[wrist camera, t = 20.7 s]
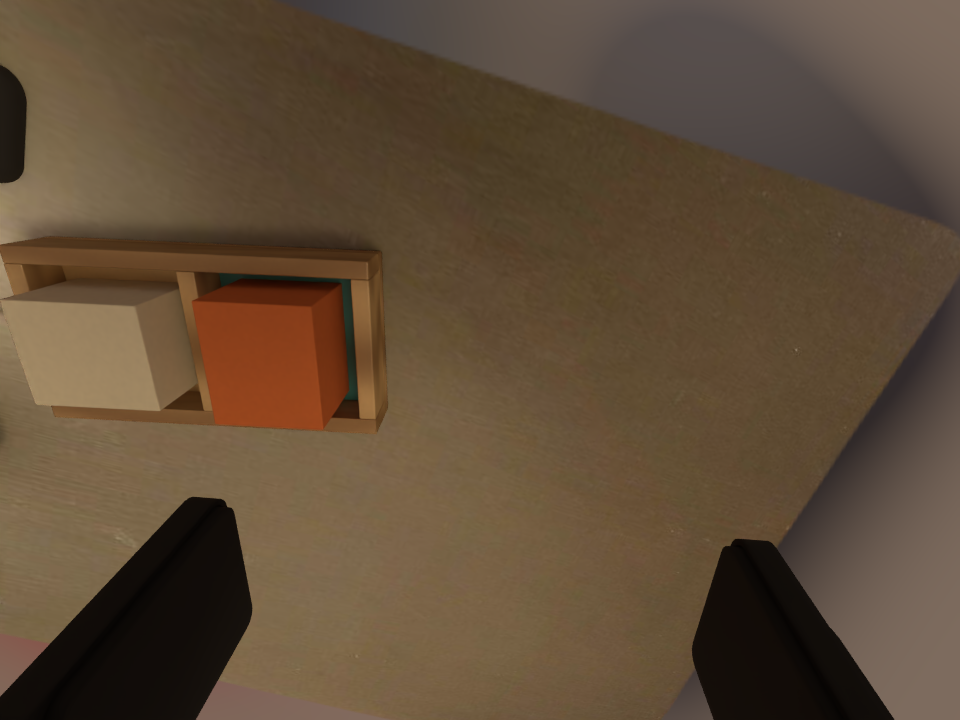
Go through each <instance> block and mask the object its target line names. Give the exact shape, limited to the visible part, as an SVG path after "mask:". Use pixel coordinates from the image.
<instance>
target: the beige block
mask: <svg viewBox="0 0 960 720" xmlns="http://www.w3.org/2000/svg"><path fill="white" fill-rule="evenodd" d="M0 304H1V306H2V309H3V312H4V315H5V318H6V321H7V324H8V327H9V329H10V332H11V335H12V338H13V341H14V344H15V347H16V349H17V352H18V355H19V358H20V361H21V364H22V367H23V370H24V372H25V375H26V378H27V381H28V384H29V387H30V390H31V392H32V395H33V398H34V401H35V404H36V405H52V406H71V407H90V408H109V409H128V410H147V411H161V410H162V409H163V408H165V407H166V406H167V405H169V404H170V403H172V402H173V401H174V400H176V399H177V398H178V397H180V396H181V395H182V394H184V393H185V392H187V391H188V390H189V389H191V388H192V387H193V386H195V385H196V384H197V383H198V379H197V374H196V369H195V364H194V359H193V355H192V350H191V345H190V340H189V335H188V330H187V325H186V320H185V315H184V310H183V305H182V300H181V295H180V290H179V285H178V283H177V282H156V281H134V280H113V279H91V278H76V279H72V280H69V281H65V282H61V283H58V284H54V285H51V286H47V287H43V288H40V289H36V290H32V291H29V292H25V293H22V294H18V295H14V296H11V297H7V298H3V299H0Z"/></svg>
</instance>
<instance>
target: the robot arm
mask: <svg viewBox="0 0 960 720" xmlns="http://www.w3.org/2000/svg"><path fill="white" fill-rule="evenodd" d="M251 615H252V602H251V597H250V592H249V587H248V581H247V576H246V571H245V566H244V561H243V555H242V550H241V545H240V540H239V535H238V530H237V524H236V519H235V514H234V511H233V509H232V508H229V507H227V505H226V502H225V501H224V500H222V499H215V498H202V497H191V498H188V499H187V500H186V501H184V502H183V503H182V505H181V506H180V507H179V508H178V509H177V510H176V511H175V512H174V513H173V514H172V515H171V516H170V517H169V518H168V519H167V520H166V521H165V523H164V524H163V525H162V526H161V527H160V528H159V529H158V530H157V531H156V532H155V533H154V534H153V535H152V536H151V537H150V538H149V540H148V541H147V542H146V543H145V544H144V545H143V546H142V547H141V548H140V549H139V550H138V551H137V552H136V553H135V554H134V555H133V556H132V558H131V559H130V560H129V561H128V562H127V563H126V564H125V565H124V566H123V567H122V568H121V569H120V570H119V571H118V572H117V573H116V575H115V576H114V577H113V578H112V579H111V580H110V581H109V582H108V583H107V584H106V585H105V586H104V587H103V588H102V589H101V590H100V591H99V593H98V594H97V595H96V596H95V597H94V598H93V599H92V600H91V601H90V602H89V603H88V604H87V605H86V606H85V607H84V608H83V609H82V611H81V612H80V613H79V614H78V615H77V616H76V617H75V618H74V619H73V620H72V621H71V622H70V623H69V624H68V625H67V626H66V628H65V629H64V630H63V631H62V632H61V633H60V634H59V635H58V636H57V637H56V638H55V639H54V640H53V641H52V642H51V643H50V644H49V646H48V647H47V648H46V649H45V650H44V651H43V652H42V653H41V654H40V655H39V656H38V657H37V658H36V659H35V660H34V661H33V663H32V664H31V665H30V666H29V667H28V668H27V669H26V670H25V671H24V672H23V673H22V674H21V675H20V676H19V677H18V679H16V681H15V682H14V683H13V684H12V685H11V686H10V687H9V688H8V689H7V690H6V691H5V692H4V693H3V694H2V695H1V696H0V720H196V718H197V716H198V715H199V713H200V711H201V709H202V708H203V706H204V704H205V702H206V700H207V699H208V697H209V695H210V693H211V691H212V689H213V688H214V686H215V684H216V683H217V681H218V679H219V677H220V675H221V674H222V672H223V670H224V668H225V666H226V665H227V663H228V661H229V659H230V658H231V656H232V654H233V652H234V650H235V649H236V647H237V645H238V643H239V641H240V640H241V638H242V636H243V634H244V632H245V631H246V629H247V627H248V625H249V622H250V619H251ZM692 656H693V662H694V666H695V669H696V671H697V674H698V677H699V680H700V683H701V685H702V688H703V691H704V694H705V696H706V699H707V702H708V705H709V708H710V711H711V713H712V716H713V719H714V720H894V718H893V717H892V715H891V714H890V713H889V711H888V710H887V708H886V706H885V705H884V704H883V702H882V701H881V699H880V698H879V696H878V695H877V693H876V692H875V691H874V689H873V687H872V686H871V684H870V683H869V681H868V680H867V678H866V677H865V676H864V674H863V673H862V671H861V670H860V668H859V667H858V665H857V664H856V662H855V661H854V659H853V658H852V657H851V655H850V653H849V652H848V651H847V649H846V648H845V646H844V645H843V643H842V642H841V640H840V639H839V637H838V636H837V635H836V634H835V633H834V631H833V630H832V629H831V628H830V627H829V626H828V624H827V623H826V621H825V620H824V618H823V617H822V615H821V614H820V613H819V611H818V610H817V608H816V606H815V605H814V603H813V602H812V600H811V599H810V598H809V596H808V595H807V593H806V592H805V590H804V589H803V587H802V586H801V584H800V583H799V581H798V580H797V579H796V577H795V575H794V574H793V572H792V571H791V569H790V568H789V566H788V565H787V563H786V562H785V561H784V559H783V557H782V556H781V554H780V553H779V552H778V550H777V548H776V547H775V546H774V545H773V544H772V543H771V542H769V541H761V540H748V539H735V540H734V541H733V542H732V544H731V546H725V547H724V548H723V549H722V552H721V555H720V558H719V561H718V564H717V568H716V571H715V574H714V577H713V580H712V583H711V587H710V590H709V593H708V596H707V599H706V603H705V606H704V609H703V612H702V615H701V619H700V622H699V625H698V628H697V631H696V635H695V638H694V641H693V645H692Z"/></svg>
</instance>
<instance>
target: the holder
mask: <svg viewBox="0 0 960 720" xmlns="http://www.w3.org/2000/svg"><path fill="white" fill-rule="evenodd" d="M0 253H1V256H2V259H3V262H4V263H5V264H4V266H5V269H6V272H7V275H8V278H9V281H10V284H11V287H12V290H13V293H14V295H18V294H22V293H25V292H29V291H32V290H36V289H40V288H43V287H47V286H51V285H54V284H58V283H61V282H65V281H69V280H72V279H76V278H91V279H113V280H134V281H156V282H177V283H178V285H179V290H180V295H181V300H182V305H183V310H184V315H185V320H186V325H187V330H188V335H189V340H190V345H191V350H192V355H193V359H194V364H195V369H196V374H197V379H198V383H197V384H196V385H195V386H193V387H192V388H191V389H189V390H188V391H187V392H185V393H184V394H182V395H181V396H180V397H178V398H177V399H176V400H174V401H173V402H172V403H170V404H169V405H167V406H166V407H165V408H163V409H162V410H161V411H147V410H128V409H109V408H90V407H71V406H52V405H51V407H52V410H53V413H54V415H55V417H65V418H84V419H103V420H121V421H140V422H159V423H178V424H197V425H216V426H234V427H253V428H272V429H291V430H310V431H328V432H347V433H366V434H377V431H378V429H379V427H380V425H381V423H382V420H383V418H384V416H385V413H386V411H387V409H388V401H387V375H386V350H385V325H384V299H383V274H382V252H381V251H367V250H345V249H323V248H300V247H278V246H256V245H233V244H211V243H189V242H166V241H144V240H121V239H99V238H77V237H54V236H49V237H43V238H37V239H31V240H25V241H19V242H13V243H7V244H1V245H0ZM241 278H244V279H265V280H286V281H308V282H329V283H341V284H342V295H343V309H344V323H345V337H346V350H347V364H348V378H349V391H348V393H347V394H346V396H345V398H344V399H343V401H342V402H341V404H340V405H339V407H338V408H337V410H336V411H335V413H334V414H333V416H332V417H331V419H330V420H329V422H328V423H327V425H326V426H325V428H324V429H323V430H314V429H296V428H277V427H258V426H240V425H221V424H215V420H214V415H213V410H212V405H211V399H210V394H209V389H208V384H207V379H206V374H205V369H204V363H203V358H202V353H201V348H200V343H199V338H198V332H197V327H196V322H195V317H194V312H193V307H192V300H195V299H197V298H199V297H201V296H204V295H206V294H208V293H210V292H212V291H215V290H217V289H219V288H221V287H223V286H226V285H228V284H230V283H232V282H235V281H237V280H239V279H241Z"/></svg>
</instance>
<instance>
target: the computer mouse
mask: <svg viewBox="0 0 960 720" xmlns="http://www.w3.org/2000/svg"><path fill="white" fill-rule="evenodd" d="M25 121H26V97H25V93H24V91H23V88H22V86H21V84H20V83H19V81H18V80H17V78H16V77H15V76H14V75H13V74H12V73H11V72H10V71H9V70H8V69H6V68H5V67H3V66H1V65H0V183H8V182H13V181H15V180H17V179H18V178H19V177H20V176H21V174H22V172H23V166H24V144H25Z"/></svg>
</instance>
